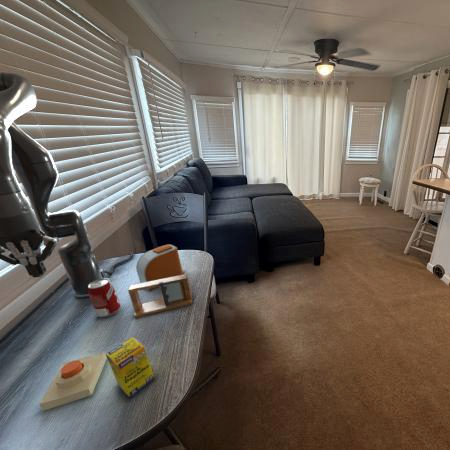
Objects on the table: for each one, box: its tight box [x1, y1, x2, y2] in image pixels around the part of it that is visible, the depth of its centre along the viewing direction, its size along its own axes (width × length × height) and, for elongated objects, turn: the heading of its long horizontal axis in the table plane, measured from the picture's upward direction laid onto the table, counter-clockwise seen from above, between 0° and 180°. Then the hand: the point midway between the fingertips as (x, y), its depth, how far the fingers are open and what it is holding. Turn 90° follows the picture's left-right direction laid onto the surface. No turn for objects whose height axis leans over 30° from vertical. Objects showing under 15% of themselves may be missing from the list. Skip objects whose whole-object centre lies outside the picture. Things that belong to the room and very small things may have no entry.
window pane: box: [159, 281, 186, 306], centre depth 84 cm, size 5×7×11 cm
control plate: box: [39, 351, 108, 411], centre depth 59 cm, size 11×9×4 cm
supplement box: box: [105, 336, 155, 399], centre depth 58 cm, size 6×6×11 cm
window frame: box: [127, 273, 193, 318], centre depth 85 cm, size 6×18×10 cm, turn 112°
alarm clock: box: [135, 243, 184, 291], centre depth 101 cm, size 15×8×14 cm, turn 144°
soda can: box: [88, 277, 121, 318], centre depth 82 cm, size 7×7×12 cm
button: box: [60, 359, 83, 378], centre depth 59 cm, size 4×4×2 cm
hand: (39, 275), depth 61 cm, fingers closed
